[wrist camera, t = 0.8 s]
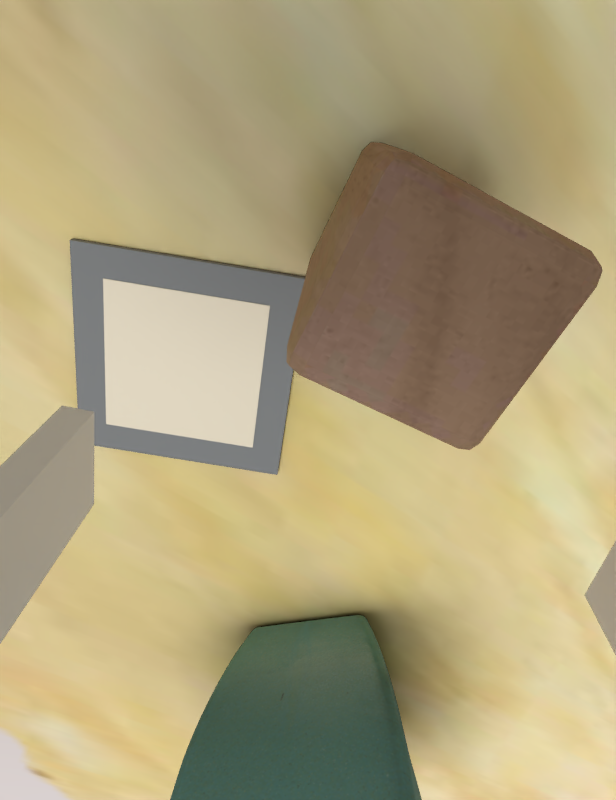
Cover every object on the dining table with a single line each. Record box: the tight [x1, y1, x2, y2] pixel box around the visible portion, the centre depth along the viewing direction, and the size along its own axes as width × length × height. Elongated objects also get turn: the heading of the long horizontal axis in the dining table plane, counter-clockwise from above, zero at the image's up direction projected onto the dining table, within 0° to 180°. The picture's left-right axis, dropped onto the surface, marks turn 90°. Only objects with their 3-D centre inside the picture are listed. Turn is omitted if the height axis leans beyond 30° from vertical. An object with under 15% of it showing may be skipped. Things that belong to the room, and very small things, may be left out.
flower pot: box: [170, 615, 422, 800], centre depth 48 cm, size 20×20×28 cm
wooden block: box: [286, 142, 602, 450], centre depth 31 cm, size 10×10×20 cm
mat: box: [70, 239, 305, 475], centre depth 45 cm, size 18×18×1 cm
